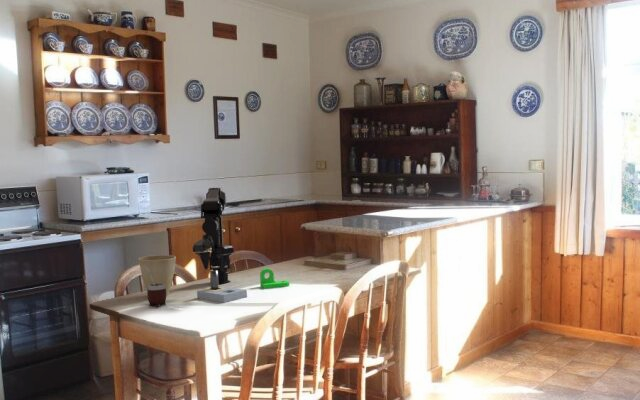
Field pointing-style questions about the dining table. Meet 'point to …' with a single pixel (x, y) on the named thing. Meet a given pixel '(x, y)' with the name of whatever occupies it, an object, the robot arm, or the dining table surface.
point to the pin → (214, 279)
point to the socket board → (222, 294)
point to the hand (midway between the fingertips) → (213, 270)
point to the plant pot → (158, 270)
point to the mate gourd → (156, 293)
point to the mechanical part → (271, 280)
